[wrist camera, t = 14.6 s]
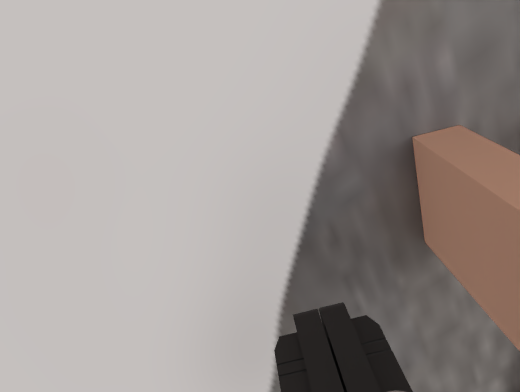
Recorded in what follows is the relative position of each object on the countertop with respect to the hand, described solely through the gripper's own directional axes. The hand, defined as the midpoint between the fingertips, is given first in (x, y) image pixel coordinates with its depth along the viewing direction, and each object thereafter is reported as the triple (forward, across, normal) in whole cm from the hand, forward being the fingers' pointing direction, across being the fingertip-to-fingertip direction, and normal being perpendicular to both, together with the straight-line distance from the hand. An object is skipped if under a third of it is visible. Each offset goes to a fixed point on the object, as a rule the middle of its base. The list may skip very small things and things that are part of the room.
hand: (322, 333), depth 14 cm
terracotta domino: (+8, -7, 0) cm, 10 cm away
